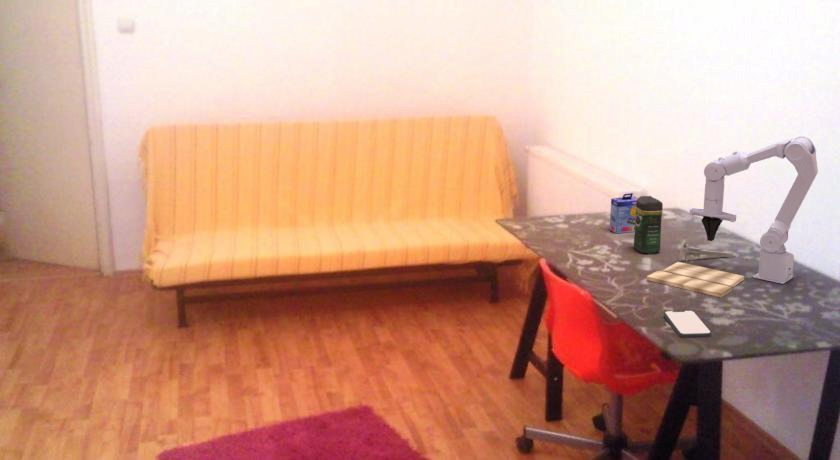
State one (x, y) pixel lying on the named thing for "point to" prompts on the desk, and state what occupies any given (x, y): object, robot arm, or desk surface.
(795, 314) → the desk surface
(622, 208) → the ink cartridge box
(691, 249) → the caliper
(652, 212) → the coffee jar
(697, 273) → the loose plank
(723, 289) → the laid strip
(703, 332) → the smartphone with white screen
